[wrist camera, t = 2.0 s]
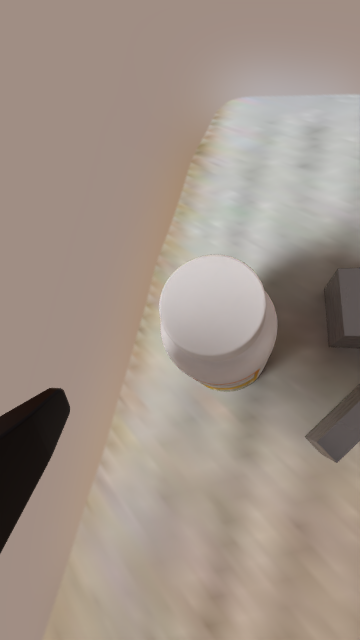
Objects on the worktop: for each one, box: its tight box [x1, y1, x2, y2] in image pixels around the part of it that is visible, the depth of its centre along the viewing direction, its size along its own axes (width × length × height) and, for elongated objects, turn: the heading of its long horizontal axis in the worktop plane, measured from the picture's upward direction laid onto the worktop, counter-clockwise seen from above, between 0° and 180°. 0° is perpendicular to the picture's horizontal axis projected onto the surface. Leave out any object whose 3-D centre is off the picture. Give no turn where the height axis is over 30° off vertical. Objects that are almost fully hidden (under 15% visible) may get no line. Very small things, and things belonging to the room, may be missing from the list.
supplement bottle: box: [159, 255, 278, 392], centre depth 15 cm, size 5×5×10 cm
